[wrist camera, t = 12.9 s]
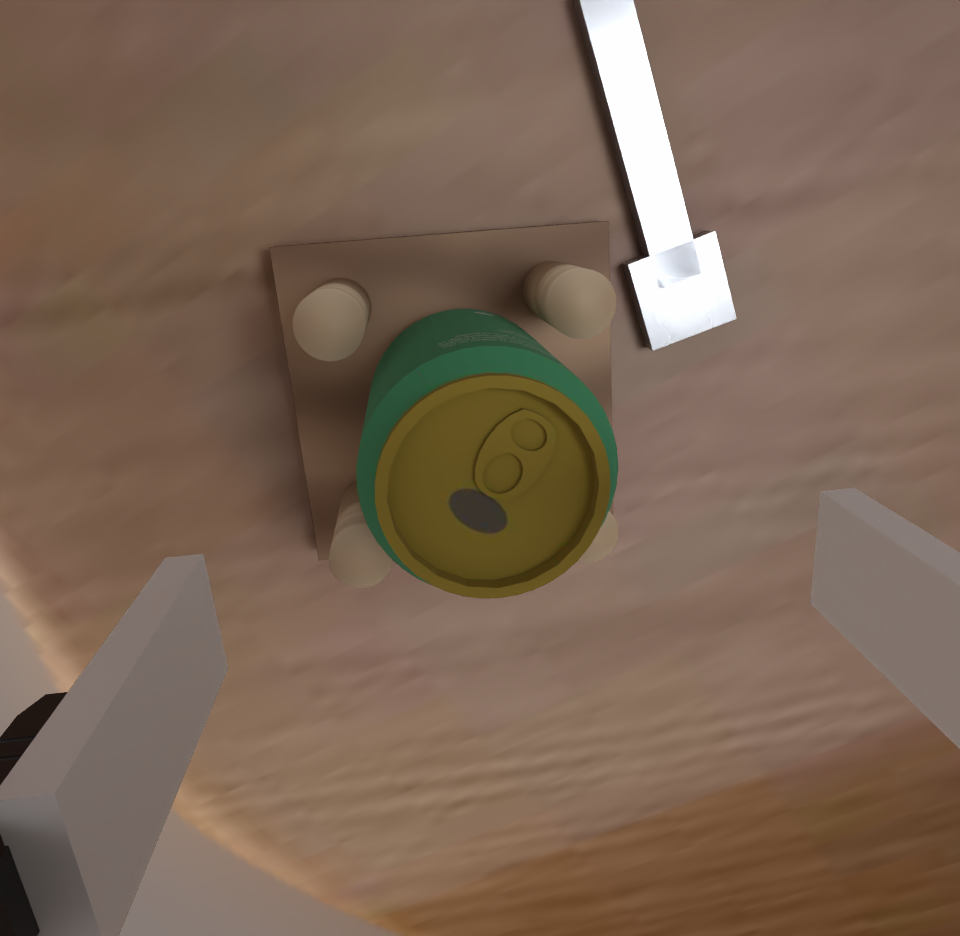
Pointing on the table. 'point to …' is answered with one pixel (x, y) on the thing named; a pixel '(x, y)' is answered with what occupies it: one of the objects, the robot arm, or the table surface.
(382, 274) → the peg board
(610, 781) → the table surface
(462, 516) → the beverage can
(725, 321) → the grey square paddle
